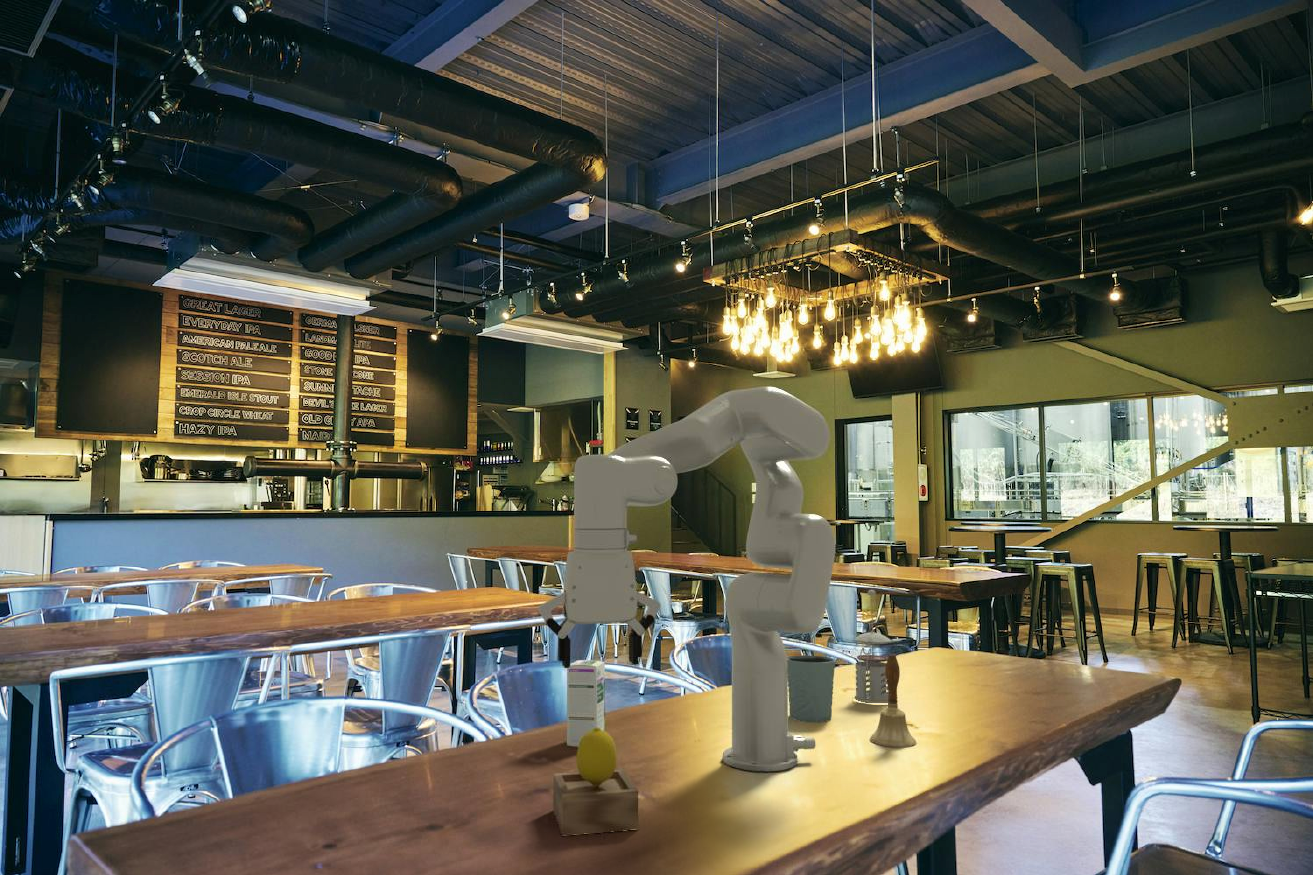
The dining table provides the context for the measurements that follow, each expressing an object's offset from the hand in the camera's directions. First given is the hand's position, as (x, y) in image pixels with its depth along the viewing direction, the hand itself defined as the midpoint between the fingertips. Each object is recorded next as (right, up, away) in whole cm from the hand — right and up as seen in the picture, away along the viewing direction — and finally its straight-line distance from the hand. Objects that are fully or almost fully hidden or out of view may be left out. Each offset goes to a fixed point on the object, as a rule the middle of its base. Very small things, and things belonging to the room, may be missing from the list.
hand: (600, 664), depth 117 cm
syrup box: (-5, -24, +35) cm, 43 cm away
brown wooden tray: (-1, -20, -3) cm, 21 cm away
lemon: (0, -16, -3) cm, 17 cm away
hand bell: (+52, -25, +38) cm, 69 cm away
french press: (+57, -28, +72) cm, 96 cm away
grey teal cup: (+40, -27, +57) cm, 74 cm away
